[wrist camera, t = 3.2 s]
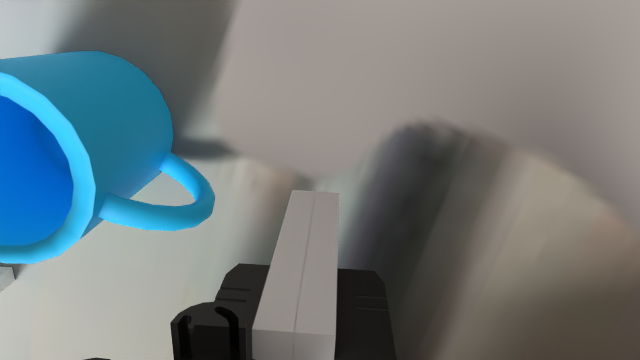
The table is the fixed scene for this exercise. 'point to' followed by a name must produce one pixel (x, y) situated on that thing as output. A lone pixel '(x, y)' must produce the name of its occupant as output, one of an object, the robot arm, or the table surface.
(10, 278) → the box
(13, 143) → the mug
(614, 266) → the table surface
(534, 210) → the table surface
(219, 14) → the table surface
